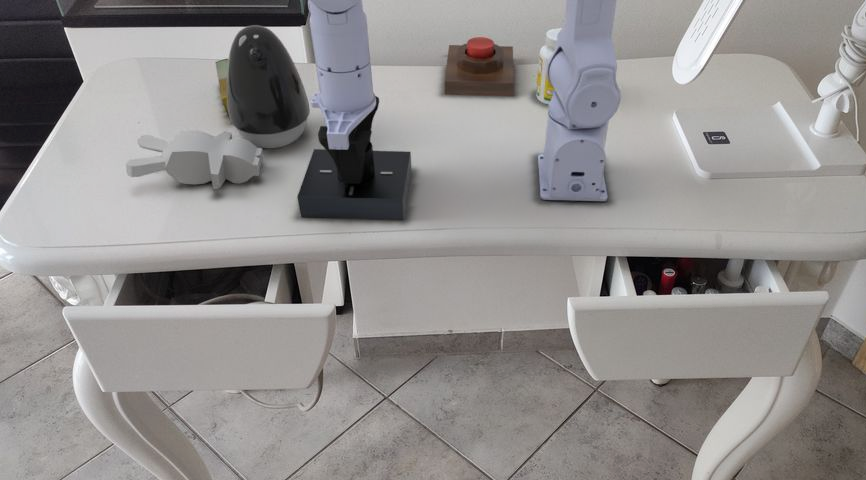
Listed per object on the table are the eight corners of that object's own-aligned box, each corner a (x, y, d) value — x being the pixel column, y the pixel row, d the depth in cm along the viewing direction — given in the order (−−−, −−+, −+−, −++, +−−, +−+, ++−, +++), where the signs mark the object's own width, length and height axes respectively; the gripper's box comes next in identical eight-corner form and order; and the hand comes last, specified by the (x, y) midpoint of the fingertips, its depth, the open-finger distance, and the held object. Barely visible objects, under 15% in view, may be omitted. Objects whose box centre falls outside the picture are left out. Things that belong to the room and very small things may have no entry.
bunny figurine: (253, 167, 83) (117, 158, 81) (256, 202, 87) (126, 195, 85) (264, 125, 90) (139, 116, 88) (266, 159, 94) (146, 151, 92)
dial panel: (403, 220, 83) (402, 198, 81) (300, 217, 83) (296, 195, 81) (411, 171, 90) (410, 150, 88) (317, 169, 90) (313, 147, 88)
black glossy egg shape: (234, 163, 91) (206, 49, 81) (236, 122, 98) (210, 13, 88) (315, 155, 93) (297, 42, 82) (311, 115, 100) (294, 7, 90)
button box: (513, 96, 104) (514, 71, 102) (444, 94, 105) (444, 69, 102) (512, 59, 113) (513, 35, 111) (449, 58, 113) (448, 33, 111)
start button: (493, 60, 105) (493, 49, 104) (466, 59, 105) (466, 48, 104) (493, 48, 108) (494, 37, 107) (467, 47, 108) (467, 36, 107)
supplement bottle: (528, 96, 105) (532, 32, 98) (554, 85, 107) (560, 22, 101) (553, 110, 102) (560, 45, 95) (580, 99, 104) (588, 35, 98)
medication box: (223, 85, 106) (214, 60, 104) (241, 81, 107) (232, 56, 104) (230, 124, 98) (220, 97, 95) (250, 119, 98) (241, 92, 95)
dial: (372, 183, 83) (369, 155, 80) (334, 182, 83) (330, 154, 80) (377, 162, 86) (374, 134, 83) (340, 161, 86) (337, 133, 83)
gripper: (318, 30, 80) (332, 135, 90) (290, 93, 70) (309, 205, 79) (380, 31, 80) (388, 137, 89) (362, 94, 70) (373, 207, 79)
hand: (355, 169), depth 84 cm, fingers closed on dial, 4 cm apart
